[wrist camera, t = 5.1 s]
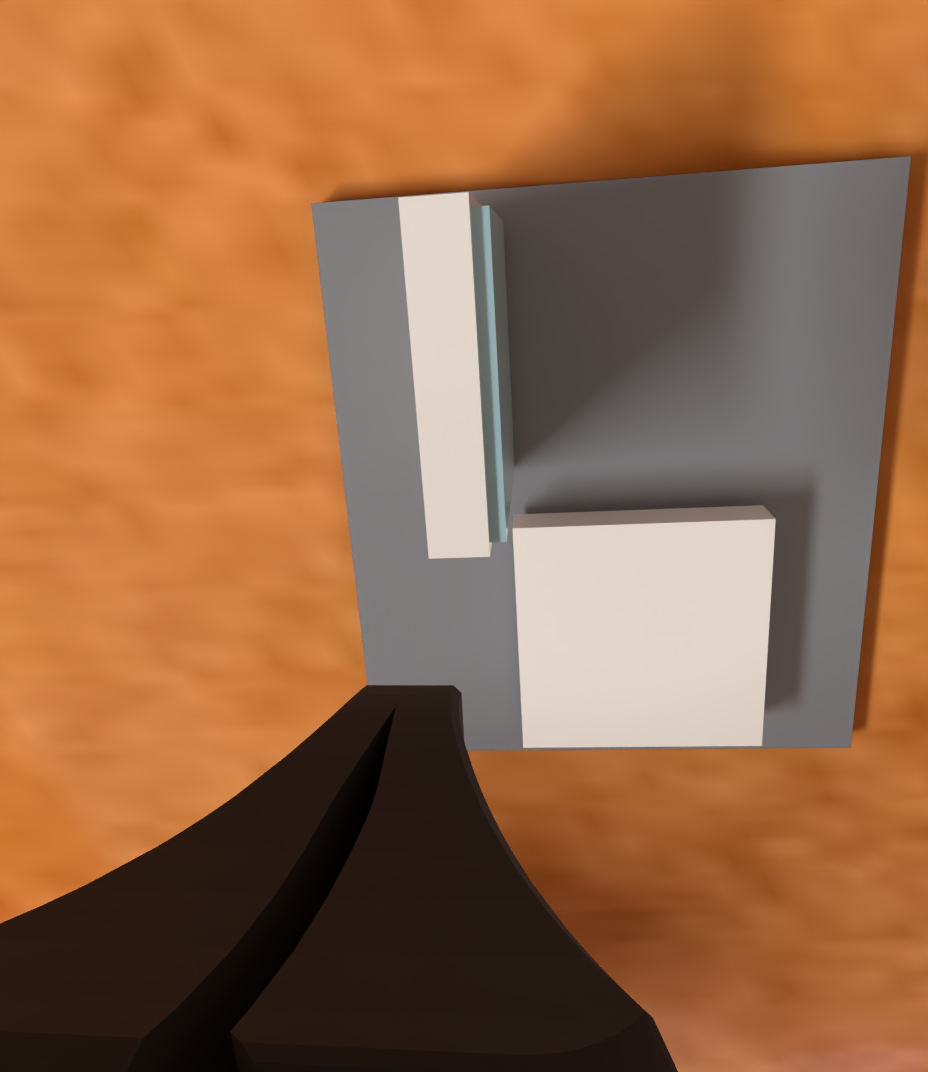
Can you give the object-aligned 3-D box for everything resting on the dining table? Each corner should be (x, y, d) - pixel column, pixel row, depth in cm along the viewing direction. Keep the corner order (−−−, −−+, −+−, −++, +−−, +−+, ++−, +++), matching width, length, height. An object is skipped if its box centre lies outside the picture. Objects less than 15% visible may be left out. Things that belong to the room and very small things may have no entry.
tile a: (524, 718, 22) (748, 716, 22) (523, 747, 21) (761, 746, 20) (514, 511, 20) (759, 501, 20) (512, 528, 19) (775, 518, 18)
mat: (842, 735, 22) (850, 747, 22) (379, 739, 23) (375, 750, 23) (898, 159, 18) (911, 156, 17) (317, 205, 19) (311, 203, 18)
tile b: (515, 472, 20) (506, 556, 14) (458, 474, 20) (428, 558, 14) (502, 212, 18) (488, 190, 12) (441, 217, 18) (397, 197, 13)
